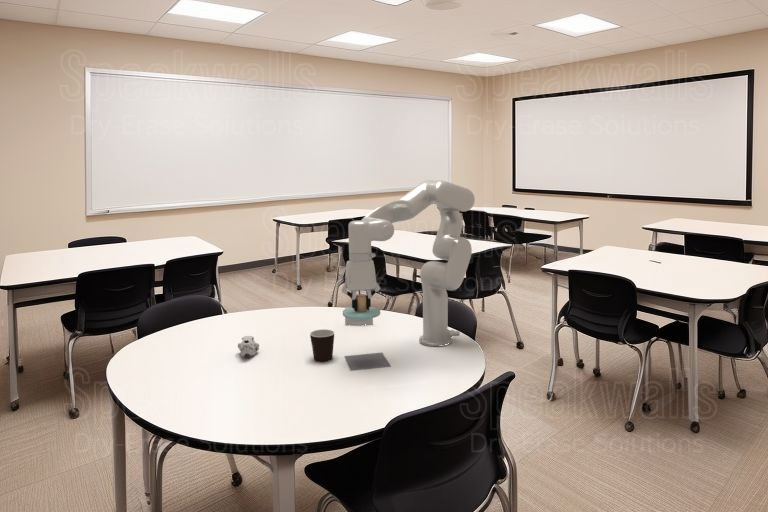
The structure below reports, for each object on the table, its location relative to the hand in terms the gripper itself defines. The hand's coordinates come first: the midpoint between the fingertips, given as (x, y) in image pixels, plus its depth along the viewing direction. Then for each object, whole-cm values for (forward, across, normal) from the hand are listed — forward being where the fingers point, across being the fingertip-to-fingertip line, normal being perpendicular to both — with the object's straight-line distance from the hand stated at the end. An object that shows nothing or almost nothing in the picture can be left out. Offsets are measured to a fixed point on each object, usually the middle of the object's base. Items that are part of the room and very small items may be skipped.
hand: (361, 309), depth 181 cm
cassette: (+20, -7, -43) cm, 48 cm away
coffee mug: (+20, +12, -8) cm, 24 cm away
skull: (+20, +39, -19) cm, 48 cm away
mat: (+19, -2, +1) cm, 19 cm away
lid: (+2, 0, 0) cm, 2 cm away
